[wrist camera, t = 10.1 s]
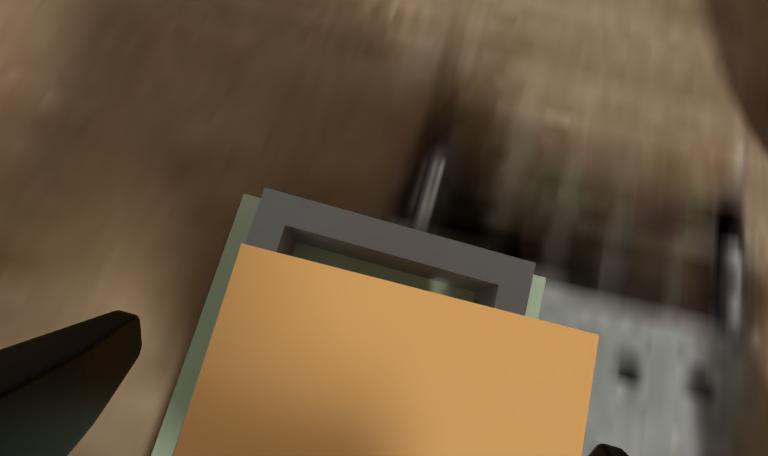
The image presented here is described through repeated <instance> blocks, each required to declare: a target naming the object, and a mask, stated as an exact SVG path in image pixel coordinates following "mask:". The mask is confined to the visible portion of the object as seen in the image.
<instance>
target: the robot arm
mask: <svg viewBox="0 0 768 456" xmlns="http://www.w3.org/2000/svg"><path fill="white" fill-rule="evenodd" d="M141 346H142V341H141V328H140V319H139V317H138V316H137V315H135V314H131V313H128V312H124V311H120V310H117V311H113V312H110V313H107V314H104V315H101V316H98V317H95V318H92V319H89V320H86V321H83V322H80V323H77V324H75V325H72V326H69V327H66V328H63V329H60V330H57V331H54V332H51V333H48V334H45V335H42V336H39V337H36V338H33V339H30V340H27V341H24V342H21V343H19V344H16V345H13V346H10V347H7V348H4V349H1V350H0V456H68V454H69V453H70V452H71V451H72V450H73V448H74V447H75V446H76V445H77V444H78V442H79V441H80V440H81V439H82V437H83V436H84V435H85V434H86V433H87V431H88V430H89V429H90V428H91V426H92V425H93V424H94V422H95V421H96V420H97V418H98V417H99V415H100V414H101V412H102V411H103V409H104V408H105V406H106V405H107V403H108V402H109V400H110V399H111V397H112V396H113V394H114V393H115V391H116V390H117V388H118V387H119V385H120V384H121V382H122V381H123V379H124V378H125V376H126V375H127V373H128V372H129V370H130V369H131V367H132V366H133V364H134V363H135V361H136V360H137V358H138V356H139V354H140V351H141ZM589 456H628V455H627V454H626V453H625V452H624V451H623V450H622V449H620V448H617V447H614V446H610V445H607V444H599V445H597V446H596V447H595V448H594V450H593V451H592V452H591V453H590V455H589Z"/></svg>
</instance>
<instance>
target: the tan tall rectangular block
mask: <svg viewBox="0 0 768 456" xmlns="http://www.w3.org/2000/svg"><path fill="white" fill-rule="evenodd" d="M598 339H599V335H597V334H593V333H589V332H585V331H582V330H578V329H574V328H570V327H566V326H562V325H558V324H554V323H550V322H547V321H543V320H539V319H535V318H531V317H527V316H523V315H519V314H515V313H511V312H508V311H504V310H500V309H496V308H492V307H488V306H484V305H480V304H476V303H472V302H469V301H465V300H461V299H457V298H453V297H449V296H445V295H441V294H437V293H434V292H430V291H426V290H422V289H418V288H414V287H410V286H406V285H402V284H398V283H395V282H391V281H387V280H383V279H379V278H375V277H371V276H367V275H363V274H360V273H356V272H352V271H348V270H344V269H340V268H336V267H332V266H328V265H324V264H321V263H317V262H313V261H309V260H305V259H301V258H297V257H293V256H289V255H285V254H282V253H278V252H274V251H270V250H266V249H262V248H258V247H254V246H250V245H247V244H243V243H241V246H240V249H239V252H238V256H237V259H236V262H235V265H234V268H233V271H232V274H231V277H230V280H229V284H228V287H227V290H226V293H225V296H224V299H223V302H222V305H221V308H220V311H219V315H218V318H217V321H216V324H215V327H214V330H213V333H212V336H211V339H210V342H209V346H208V349H207V352H206V355H205V358H204V361H203V364H202V367H201V370H200V374H199V377H198V380H197V383H196V386H195V389H194V392H193V395H192V398H191V401H190V405H189V408H188V411H187V414H186V417H185V420H184V423H183V426H182V429H181V433H180V436H179V439H178V442H177V445H176V448H175V451H174V454H173V456H582V449H583V442H584V435H585V428H586V422H587V415H588V408H589V401H590V394H591V387H592V380H593V374H594V367H595V360H596V353H597V346H598Z"/></svg>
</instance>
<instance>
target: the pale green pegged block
mask: <svg viewBox="0 0 768 456" xmlns="http://www.w3.org/2000/svg"><path fill="white" fill-rule="evenodd" d="M241 243H243V244H247V245H250V246H254V247H258V248H262V249H266V250H270V251H274V252H278V253H282V254H285V255H289V256H293V257H297V258H301V259H305V260H309V261H313V262H317V263H321V264H324V265H328V266H332V267H336V268H340V269H344V270H348V271H352V272H356V273H360V274H363V275H367V276H371V277H375V278H379V279H383V280H387V281H391V282H395V283H398V284H402V285H406V286H410V287H414V288H418V289H422V290H426V291H430V292H434V293H437V294H441V295H445V296H449V297H453V298H457V299H461V300H465V301H469V302H472V303H476V304H480V305H484V306H488V307H492V308H496V309H500V310H504V311H508V312H511V313H515V314H519V315H523V316H527V317H531V318H535V319H538V316H539V311H540V306H541V301H542V296H543V291H544V286H545V281H546V278H544V277H541V276H537V275H533V274H534V270H535V265H536V263H534V262H530V261H527V260H523V259H519V258H516V257H512V256H509V255H505V254H502V253H498V252H494V251H491V250H487V249H484V248H480V247H477V246H473V245H469V244H466V243H462V242H459V241H455V240H452V239H448V238H444V237H441V236H437V235H434V234H430V233H427V232H423V231H419V230H416V229H412V228H409V227H405V226H402V225H398V224H394V223H391V222H387V221H384V220H380V219H377V218H373V217H369V216H366V215H362V214H359V213H355V212H352V211H348V210H344V209H341V208H337V207H334V206H330V205H327V204H323V203H319V202H316V201H312V200H309V199H305V198H302V197H298V196H294V195H291V194H287V193H284V192H280V191H276V190H273V189H269V188H266V187H264V190H263V193H262V196H261V198H258V197H255V196H251V195H248V194H243V197H242V200H241V203H240V206H239V209H238V211H237V214H236V217H235V220H234V223H233V226H232V228H231V231H230V234H229V237H228V240H227V243H226V245H225V248H224V251H223V254H222V257H221V259H220V262H219V265H218V268H217V271H216V274H215V276H214V279H213V282H212V285H211V288H210V291H209V293H208V296H207V299H206V302H205V305H204V308H203V310H202V313H201V316H200V319H199V322H198V325H197V327H196V330H195V333H194V336H193V339H192V341H191V344H190V347H189V350H188V353H187V356H186V358H185V361H184V364H183V367H182V370H181V373H180V375H179V378H178V381H177V384H176V387H175V390H174V392H173V395H172V398H171V401H170V404H169V406H168V409H167V412H166V415H165V418H164V421H163V423H162V426H161V429H160V432H159V435H158V438H157V440H156V443H155V446H154V449H153V452H152V455H151V456H173V454H174V451H175V448H176V445H177V442H178V439H179V436H180V433H181V429H182V426H183V423H184V420H185V417H186V414H187V411H188V408H189V405H190V401H191V398H192V395H193V392H194V389H195V386H196V383H197V380H198V377H199V374H200V370H201V367H202V364H203V361H204V358H205V355H206V352H207V349H208V346H209V342H210V339H211V336H212V333H213V330H214V327H215V324H216V321H217V318H218V315H219V311H220V308H221V305H222V302H223V299H224V296H225V293H226V290H227V287H228V284H229V280H230V277H231V274H232V271H233V268H234V265H235V262H236V259H237V256H238V252H239V249H240V246H241Z"/></svg>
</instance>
